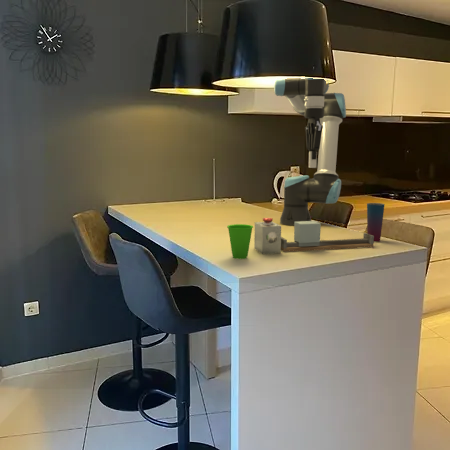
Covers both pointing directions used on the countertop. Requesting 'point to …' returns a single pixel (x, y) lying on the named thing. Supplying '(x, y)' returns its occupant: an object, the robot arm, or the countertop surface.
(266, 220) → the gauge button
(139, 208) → the countertop surface
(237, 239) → the cup
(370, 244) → the rail
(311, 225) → the carriage
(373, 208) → the cup
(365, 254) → the countertop surface
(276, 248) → the grey push button box
